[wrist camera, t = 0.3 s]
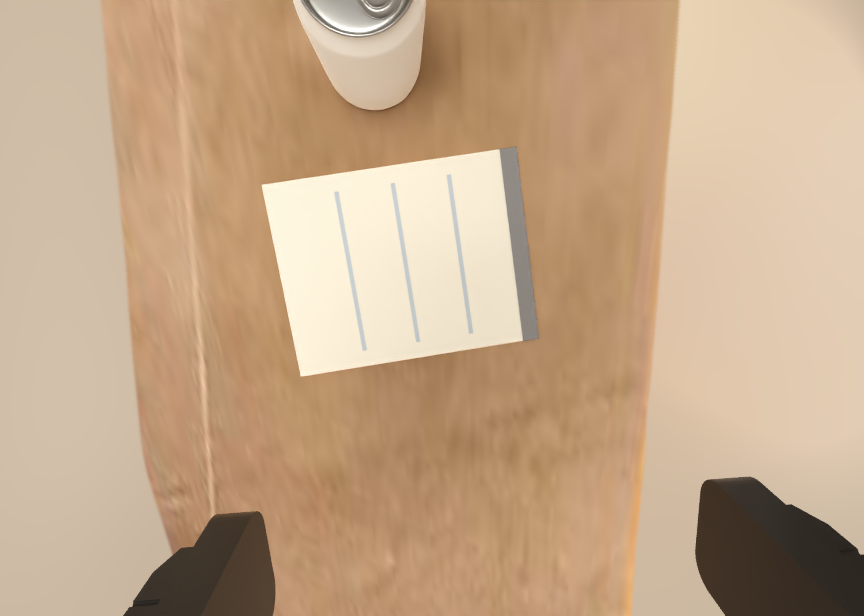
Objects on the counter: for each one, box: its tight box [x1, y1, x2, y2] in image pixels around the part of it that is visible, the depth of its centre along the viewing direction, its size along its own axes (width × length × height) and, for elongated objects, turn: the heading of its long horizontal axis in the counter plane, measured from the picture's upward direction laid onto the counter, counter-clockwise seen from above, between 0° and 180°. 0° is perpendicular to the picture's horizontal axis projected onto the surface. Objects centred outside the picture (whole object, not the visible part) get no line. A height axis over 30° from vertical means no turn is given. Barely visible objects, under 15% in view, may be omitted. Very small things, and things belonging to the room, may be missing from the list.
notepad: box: [262, 147, 539, 377], centre depth 35 cm, size 14×18×1 cm
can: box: [293, 0, 426, 110], centre depth 27 cm, size 6×6×12 cm
